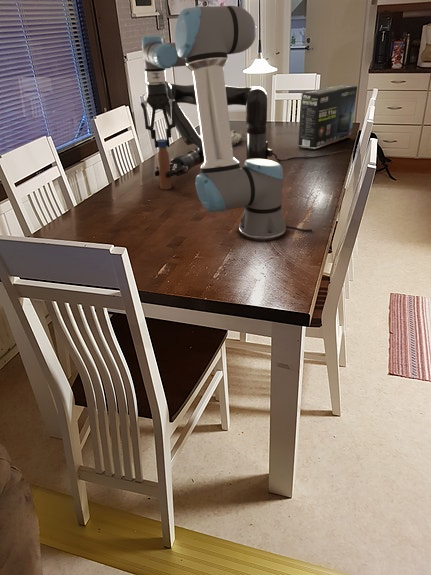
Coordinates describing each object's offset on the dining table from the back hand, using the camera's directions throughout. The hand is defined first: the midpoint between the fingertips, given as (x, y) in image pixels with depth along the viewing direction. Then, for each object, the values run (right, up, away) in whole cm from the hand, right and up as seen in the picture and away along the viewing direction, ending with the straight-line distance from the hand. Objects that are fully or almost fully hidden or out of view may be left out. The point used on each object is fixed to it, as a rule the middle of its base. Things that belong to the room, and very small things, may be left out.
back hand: (161, 174), depth 186 cm
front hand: (+1, +10, -4) cm, 11 cm away
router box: (+81, +31, +58) cm, 104 cm away
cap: (+1, +12, -5) cm, 13 cm away
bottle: (+1, -4, +5) cm, 7 cm away
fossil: (+29, +34, +67) cm, 81 cm away
